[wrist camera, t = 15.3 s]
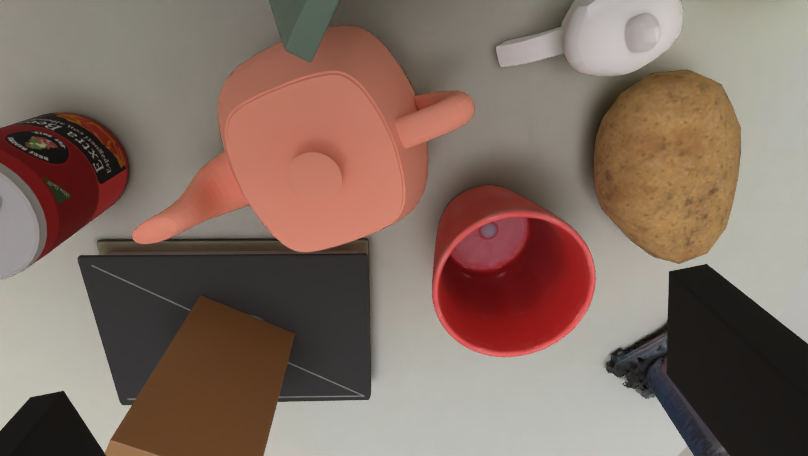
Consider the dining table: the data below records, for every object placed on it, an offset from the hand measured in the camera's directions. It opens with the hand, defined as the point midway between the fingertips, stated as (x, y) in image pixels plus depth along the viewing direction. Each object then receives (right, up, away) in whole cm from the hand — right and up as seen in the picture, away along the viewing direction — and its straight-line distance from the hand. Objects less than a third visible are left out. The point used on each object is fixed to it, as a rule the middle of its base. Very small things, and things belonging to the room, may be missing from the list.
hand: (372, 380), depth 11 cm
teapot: (-5, +11, +26) cm, 28 cm away
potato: (+19, +9, +27) cm, 35 cm away
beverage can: (+25, -8, +36) cm, 45 cm away
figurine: (+13, +18, +23) cm, 32 cm away
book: (-13, -4, +32) cm, 35 cm away
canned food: (-24, +8, +26) cm, 36 cm away
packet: (-13, -6, +29) cm, 32 cm away
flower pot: (+7, +3, +29) cm, 31 cm away
